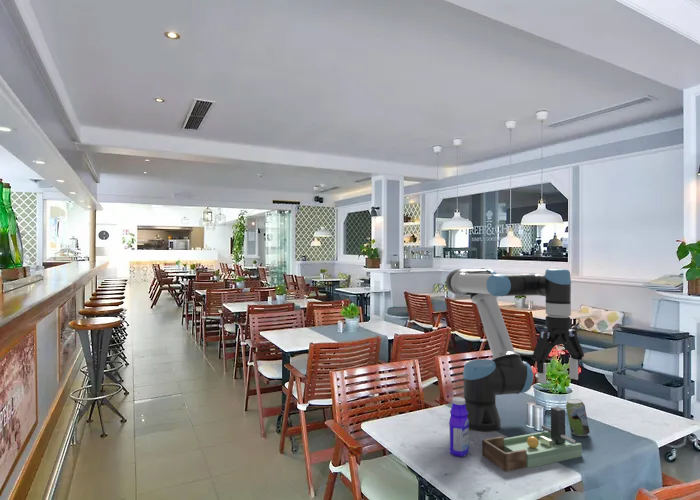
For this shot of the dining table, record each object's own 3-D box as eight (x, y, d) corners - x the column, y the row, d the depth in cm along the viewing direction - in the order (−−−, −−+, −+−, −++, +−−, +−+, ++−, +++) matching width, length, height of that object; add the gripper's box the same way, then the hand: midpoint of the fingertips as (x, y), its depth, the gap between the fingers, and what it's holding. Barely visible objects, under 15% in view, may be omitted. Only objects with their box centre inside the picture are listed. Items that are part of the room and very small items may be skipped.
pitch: (552, 441, 148) (551, 429, 148) (581, 456, 136) (581, 444, 136) (500, 451, 140) (500, 438, 140) (528, 467, 129) (528, 454, 129)
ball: (525, 448, 137) (525, 437, 137) (528, 444, 140) (528, 433, 140) (536, 451, 135) (536, 439, 135) (540, 447, 137) (540, 436, 137)
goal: (502, 451, 139) (502, 436, 140) (526, 467, 129) (526, 450, 129) (482, 455, 137) (482, 439, 137) (505, 471, 127) (505, 454, 127)
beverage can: (592, 438, 150) (591, 404, 150) (569, 437, 151) (568, 402, 151) (586, 431, 156) (585, 398, 156) (564, 430, 157) (563, 397, 158)
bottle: (464, 459, 134) (464, 403, 134) (446, 455, 137) (446, 400, 137) (471, 450, 140) (471, 397, 140) (454, 446, 143) (454, 394, 143)
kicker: (546, 433, 147) (546, 402, 148) (578, 449, 135) (578, 414, 135) (529, 436, 145) (529, 404, 145) (560, 453, 133) (560, 417, 133)
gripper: (576, 312, 150) (576, 374, 149) (519, 316, 141) (519, 381, 140) (595, 315, 143) (596, 380, 142) (537, 319, 134) (537, 388, 133)
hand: (558, 380), depth 141 cm, fingers open, 13 cm apart
